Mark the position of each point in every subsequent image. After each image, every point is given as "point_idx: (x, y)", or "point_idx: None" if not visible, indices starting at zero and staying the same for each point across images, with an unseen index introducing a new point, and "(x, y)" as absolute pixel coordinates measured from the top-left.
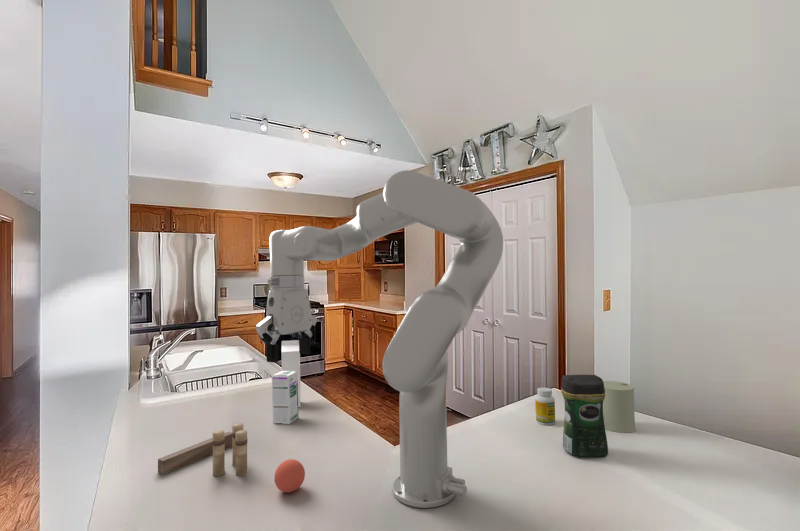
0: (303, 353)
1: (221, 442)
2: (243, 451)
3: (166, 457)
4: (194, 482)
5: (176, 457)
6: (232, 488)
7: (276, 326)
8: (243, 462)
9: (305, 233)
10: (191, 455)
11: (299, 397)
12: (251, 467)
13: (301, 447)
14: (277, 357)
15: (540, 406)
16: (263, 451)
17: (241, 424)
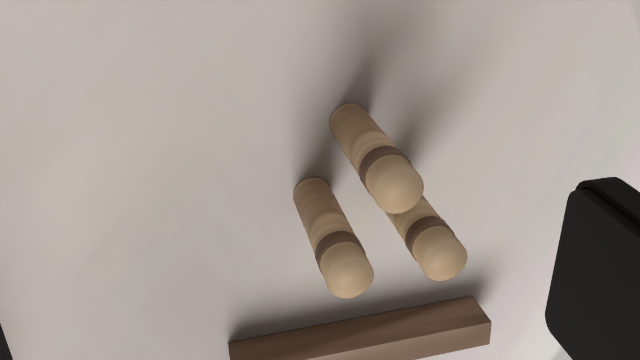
0: (9, 355)
1: (434, 221)
2: (380, 136)
3: (472, 337)
4: (461, 184)
5: (447, 325)
6: (431, 49)
7: None
8: (367, 119)
9: None
10: (393, 327)
11: None
12: (301, 133)
13: (52, 124)
14: (635, 202)
15: None
16: (190, 215)
17: (337, 272)
